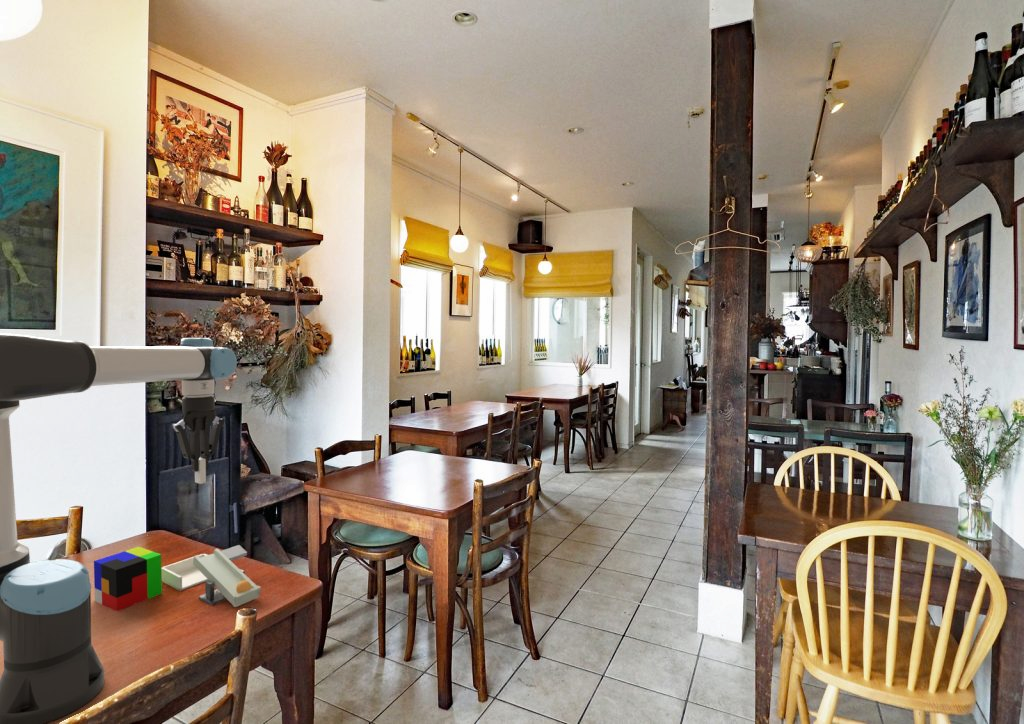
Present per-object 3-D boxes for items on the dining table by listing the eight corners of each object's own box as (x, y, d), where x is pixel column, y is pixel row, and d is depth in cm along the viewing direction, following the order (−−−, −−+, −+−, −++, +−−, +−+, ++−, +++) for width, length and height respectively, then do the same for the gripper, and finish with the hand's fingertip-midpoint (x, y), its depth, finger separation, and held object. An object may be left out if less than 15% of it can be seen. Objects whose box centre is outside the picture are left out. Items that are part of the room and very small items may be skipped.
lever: (281, 587, 135) (283, 578, 134) (235, 607, 125) (236, 597, 124) (238, 548, 145) (240, 539, 144) (192, 563, 135) (194, 554, 134)
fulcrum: (251, 589, 135) (251, 571, 135) (211, 605, 127) (211, 587, 126) (238, 583, 138) (238, 566, 138) (198, 598, 130) (198, 580, 130)
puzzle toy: (94, 601, 128) (93, 561, 128) (139, 584, 137) (138, 546, 137) (117, 611, 124) (115, 569, 123) (162, 593, 132) (161, 554, 132)
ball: (238, 599, 126) (242, 590, 125) (232, 590, 128) (235, 580, 127) (251, 594, 129) (255, 584, 128) (244, 585, 131) (248, 575, 130)
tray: (179, 591, 134) (179, 577, 133) (160, 580, 139) (160, 567, 139) (223, 574, 143) (223, 561, 143) (204, 565, 148) (204, 553, 148)
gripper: (180, 399, 134) (182, 490, 135) (230, 394, 145) (231, 479, 146) (165, 396, 138) (167, 486, 139) (215, 392, 149) (216, 474, 150)
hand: (200, 482), depth 143 cm, fingers closed
